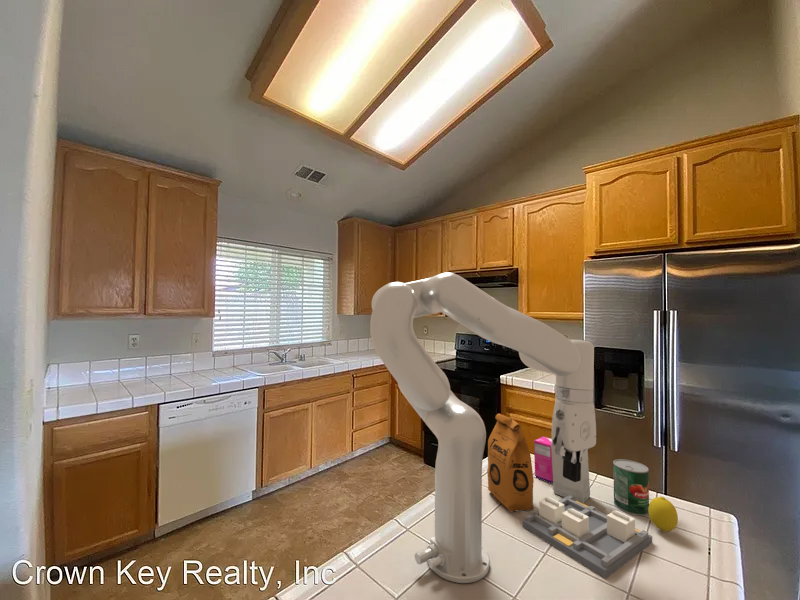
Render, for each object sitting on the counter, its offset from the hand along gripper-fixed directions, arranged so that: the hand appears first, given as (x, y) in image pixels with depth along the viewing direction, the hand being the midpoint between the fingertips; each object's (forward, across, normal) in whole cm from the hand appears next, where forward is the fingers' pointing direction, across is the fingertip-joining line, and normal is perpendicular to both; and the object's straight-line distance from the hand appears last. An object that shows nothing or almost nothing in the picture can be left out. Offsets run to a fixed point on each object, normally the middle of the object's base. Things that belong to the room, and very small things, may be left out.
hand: (571, 478), depth 76 cm
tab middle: (+13, +3, +1) cm, 13 cm away
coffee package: (+15, +4, +20) cm, 25 cm away
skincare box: (+14, +21, +13) cm, 28 cm away
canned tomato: (+14, +29, +1) cm, 32 cm away
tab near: (+12, +11, -5) cm, 17 cm away
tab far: (+13, +3, +6) cm, 15 cm away
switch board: (+14, +7, +1) cm, 16 cm away
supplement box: (+14, +24, +23) cm, 37 cm away
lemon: (+14, +24, -8) cm, 29 cm away
